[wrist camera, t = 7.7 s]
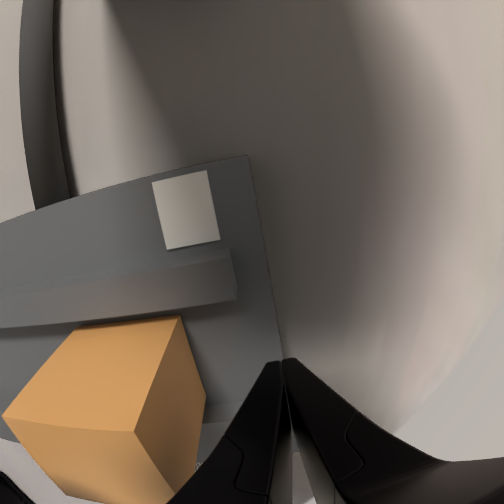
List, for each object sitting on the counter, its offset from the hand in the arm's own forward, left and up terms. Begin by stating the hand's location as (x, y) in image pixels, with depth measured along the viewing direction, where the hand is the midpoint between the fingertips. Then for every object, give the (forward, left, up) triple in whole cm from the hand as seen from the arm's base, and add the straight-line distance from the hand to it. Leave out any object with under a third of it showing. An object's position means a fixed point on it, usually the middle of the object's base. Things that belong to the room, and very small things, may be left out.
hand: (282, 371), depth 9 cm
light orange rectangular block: (0, +5, -1) cm, 5 cm away
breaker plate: (0, +10, -3) cm, 10 cm away
